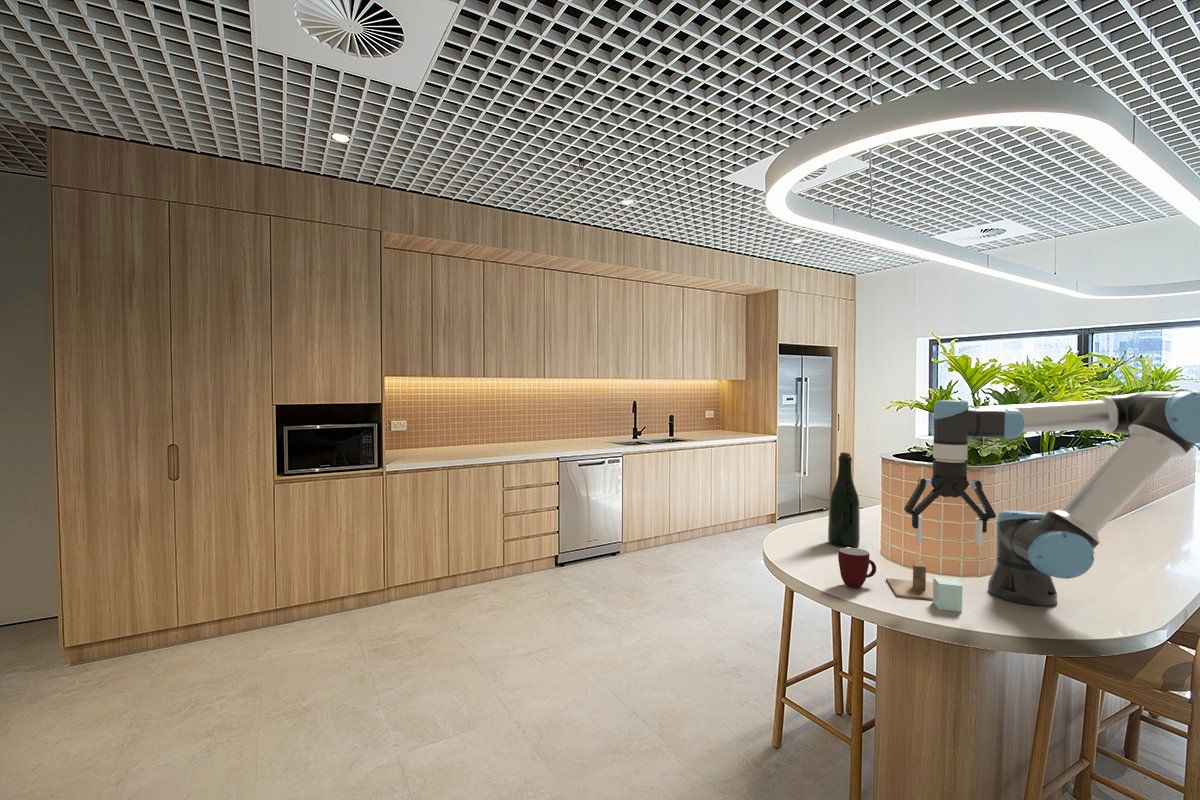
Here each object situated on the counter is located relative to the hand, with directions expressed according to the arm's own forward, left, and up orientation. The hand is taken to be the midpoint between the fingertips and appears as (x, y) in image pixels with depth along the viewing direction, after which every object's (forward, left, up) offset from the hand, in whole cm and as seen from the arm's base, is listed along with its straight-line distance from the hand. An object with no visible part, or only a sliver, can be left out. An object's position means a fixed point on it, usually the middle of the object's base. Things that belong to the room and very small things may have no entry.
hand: (948, 543), depth 149 cm
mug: (+20, -10, -17) cm, 28 cm away
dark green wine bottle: (+18, -56, -17) cm, 61 cm away
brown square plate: (+4, -11, -17) cm, 20 cm away
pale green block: (0, 0, -17) cm, 16 cm away
